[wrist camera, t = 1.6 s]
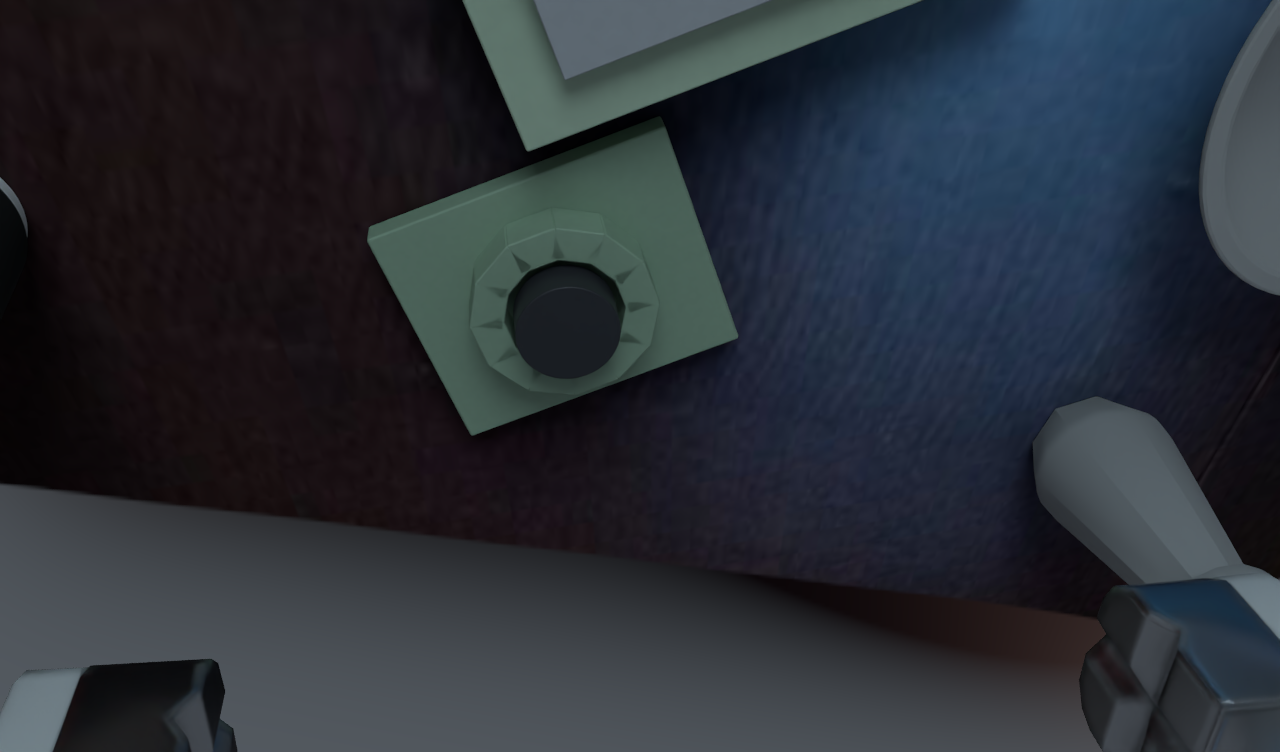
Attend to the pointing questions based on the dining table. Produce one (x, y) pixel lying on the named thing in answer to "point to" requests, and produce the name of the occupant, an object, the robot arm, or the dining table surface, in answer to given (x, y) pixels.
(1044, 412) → the dining table surface
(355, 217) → the dining table surface
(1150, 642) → the robot arm
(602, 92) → the scale
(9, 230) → the dixie cup
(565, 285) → the tare button
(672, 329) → the green dial panel
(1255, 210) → the dish
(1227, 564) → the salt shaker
